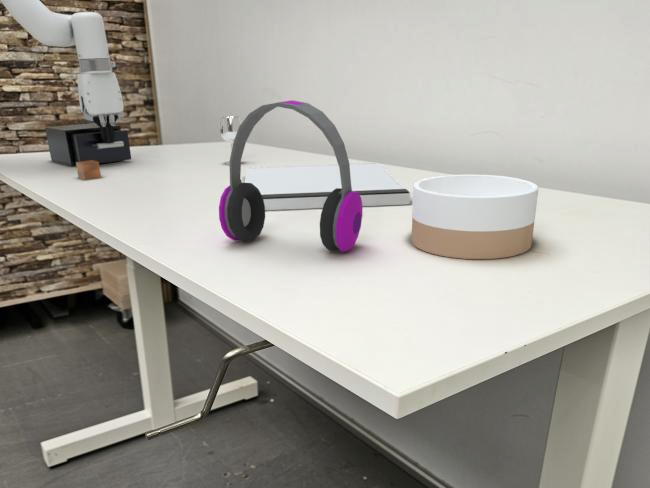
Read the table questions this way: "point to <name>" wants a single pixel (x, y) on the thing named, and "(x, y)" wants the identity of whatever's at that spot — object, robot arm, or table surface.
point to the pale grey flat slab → (324, 185)
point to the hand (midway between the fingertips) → (109, 141)
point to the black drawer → (99, 147)
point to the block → (88, 170)
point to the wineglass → (229, 128)
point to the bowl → (473, 216)
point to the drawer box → (66, 141)
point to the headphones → (247, 202)
